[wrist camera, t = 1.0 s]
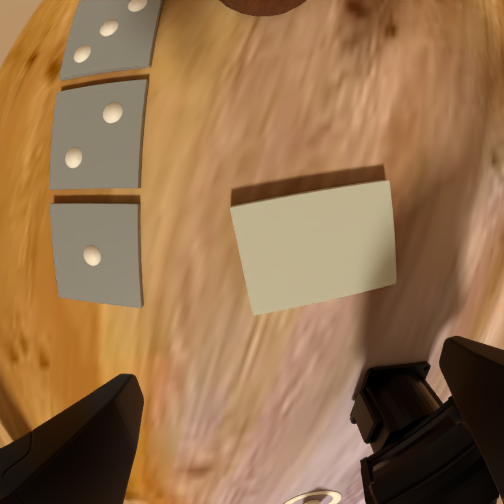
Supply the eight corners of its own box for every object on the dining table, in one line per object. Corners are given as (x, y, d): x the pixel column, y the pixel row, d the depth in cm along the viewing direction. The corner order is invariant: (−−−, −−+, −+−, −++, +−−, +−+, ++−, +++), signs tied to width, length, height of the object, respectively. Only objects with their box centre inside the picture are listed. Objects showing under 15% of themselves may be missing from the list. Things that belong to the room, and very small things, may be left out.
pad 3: (140, 203, 18) (137, 204, 17) (143, 304, 20) (141, 308, 19) (53, 202, 18) (49, 203, 17) (62, 294, 19) (59, 297, 19)
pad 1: (166, -13, 14) (165, -17, 13) (150, 67, 16) (148, 65, 15) (81, 3, 13) (78, 1, 13) (62, 80, 15) (58, 79, 15)
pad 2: (148, 81, 16) (146, 79, 15) (140, 187, 18) (137, 188, 17) (60, 93, 15) (56, 92, 15) (53, 189, 17) (49, 189, 17)
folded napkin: (382, 179, 18) (389, 180, 17) (390, 278, 20) (396, 283, 19) (230, 205, 18) (229, 207, 17) (252, 309, 20) (253, 315, 19)
